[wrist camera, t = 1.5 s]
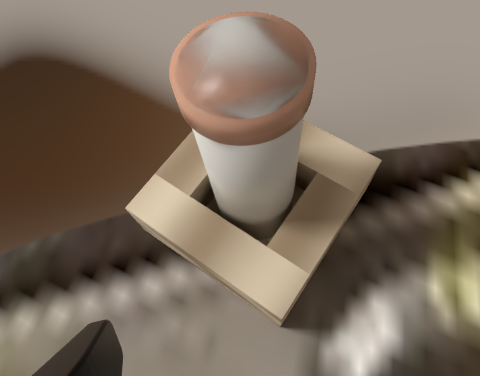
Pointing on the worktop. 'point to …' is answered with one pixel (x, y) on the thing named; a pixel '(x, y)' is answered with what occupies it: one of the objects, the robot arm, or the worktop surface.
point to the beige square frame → (243, 245)
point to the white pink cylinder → (247, 111)
